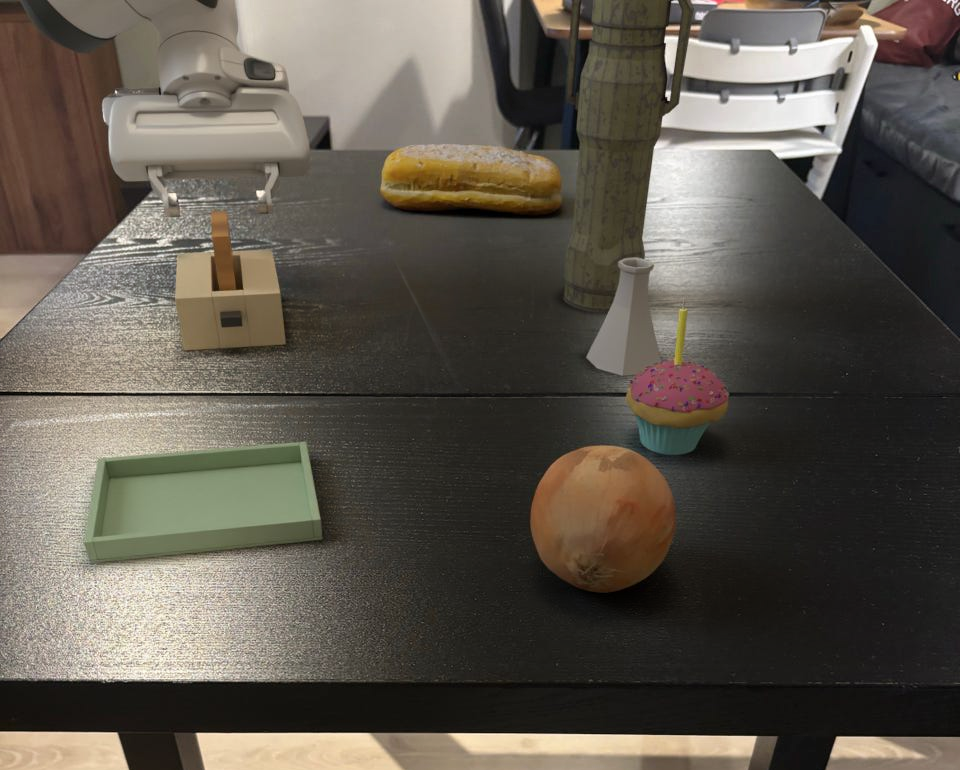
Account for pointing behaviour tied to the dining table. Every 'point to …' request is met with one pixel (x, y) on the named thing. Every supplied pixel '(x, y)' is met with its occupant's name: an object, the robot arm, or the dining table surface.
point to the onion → (602, 518)
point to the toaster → (229, 302)
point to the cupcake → (676, 400)
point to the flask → (627, 324)
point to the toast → (223, 251)
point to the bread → (470, 179)
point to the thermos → (617, 137)
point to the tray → (201, 502)
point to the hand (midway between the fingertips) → (219, 212)
